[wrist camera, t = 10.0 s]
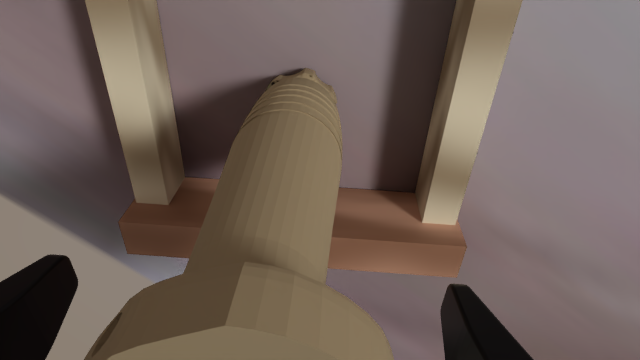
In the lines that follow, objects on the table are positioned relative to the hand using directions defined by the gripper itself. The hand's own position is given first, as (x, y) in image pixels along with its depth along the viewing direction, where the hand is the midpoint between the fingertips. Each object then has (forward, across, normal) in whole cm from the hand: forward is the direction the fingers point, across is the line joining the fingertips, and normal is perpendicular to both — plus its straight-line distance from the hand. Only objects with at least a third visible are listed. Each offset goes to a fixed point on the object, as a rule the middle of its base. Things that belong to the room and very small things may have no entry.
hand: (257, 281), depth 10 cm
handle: (+12, 0, 0) cm, 12 cm away
